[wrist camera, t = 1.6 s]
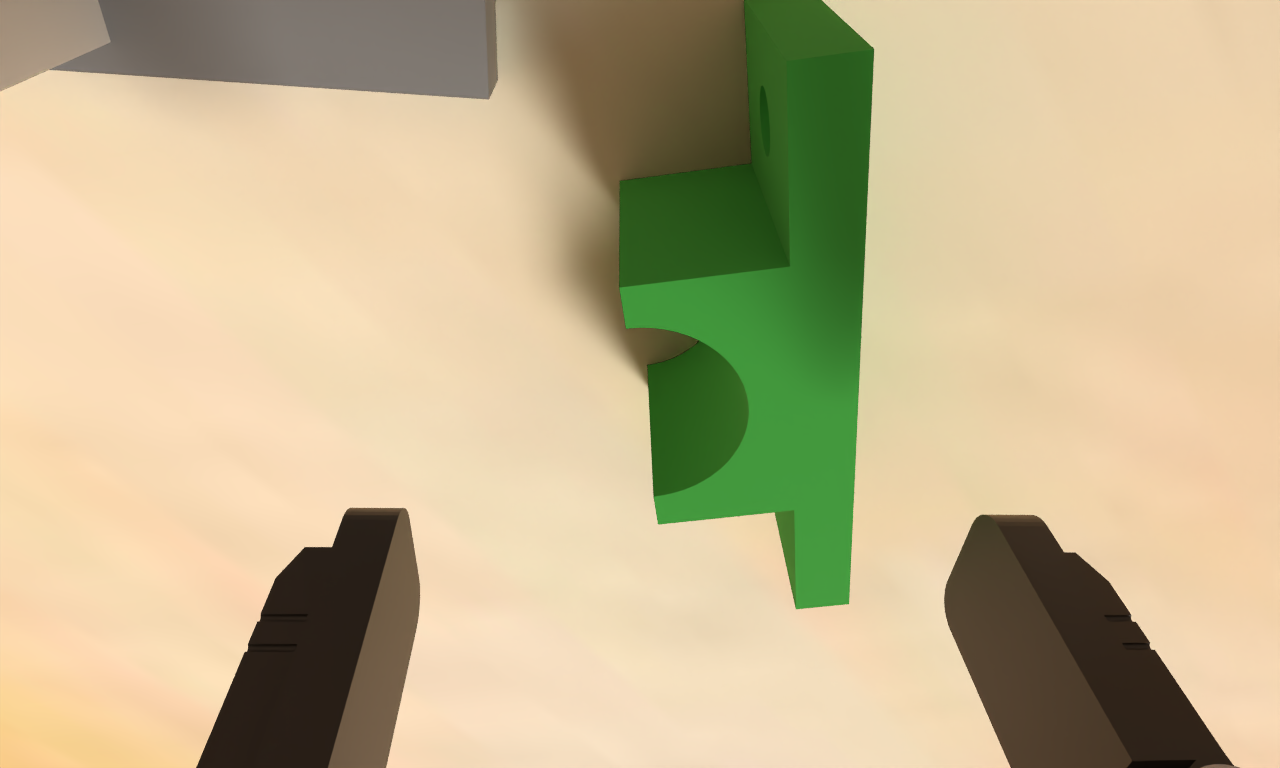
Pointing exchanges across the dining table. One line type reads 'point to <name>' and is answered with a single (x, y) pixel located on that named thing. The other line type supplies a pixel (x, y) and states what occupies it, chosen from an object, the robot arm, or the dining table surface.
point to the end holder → (260, 42)
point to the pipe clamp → (764, 300)
